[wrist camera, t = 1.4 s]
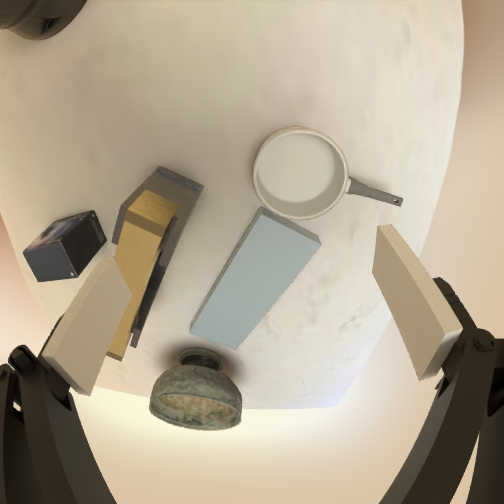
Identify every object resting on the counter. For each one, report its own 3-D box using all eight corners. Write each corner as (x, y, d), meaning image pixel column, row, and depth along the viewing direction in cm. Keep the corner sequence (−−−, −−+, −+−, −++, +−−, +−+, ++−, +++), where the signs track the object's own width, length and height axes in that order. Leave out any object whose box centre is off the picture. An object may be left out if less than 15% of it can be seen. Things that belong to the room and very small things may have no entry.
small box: (94, 207, 40) (60, 241, 31) (108, 241, 43) (80, 279, 34) (53, 219, 41) (20, 251, 32) (67, 249, 44) (38, 284, 36)
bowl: (221, 388, 68) (217, 439, 55) (153, 363, 62) (139, 415, 50) (262, 354, 59) (263, 415, 46) (180, 321, 53) (164, 385, 41)
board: (191, 323, 53) (188, 332, 51) (260, 206, 40) (261, 213, 38) (236, 340, 56) (235, 349, 54) (318, 236, 42) (321, 244, 40)
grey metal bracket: (121, 282, 48) (95, 331, 38) (159, 165, 36) (122, 201, 26) (154, 297, 50) (135, 349, 39) (203, 186, 38) (182, 228, 28)
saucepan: (373, 221, 41) (386, 239, 36) (246, 194, 39) (244, 211, 34) (398, 152, 34) (416, 164, 30) (261, 114, 33) (262, 119, 28)
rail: (108, 327, 41) (97, 351, 36) (145, 189, 28) (126, 209, 24) (130, 337, 42) (121, 361, 37) (179, 204, 29) (166, 227, 25)
